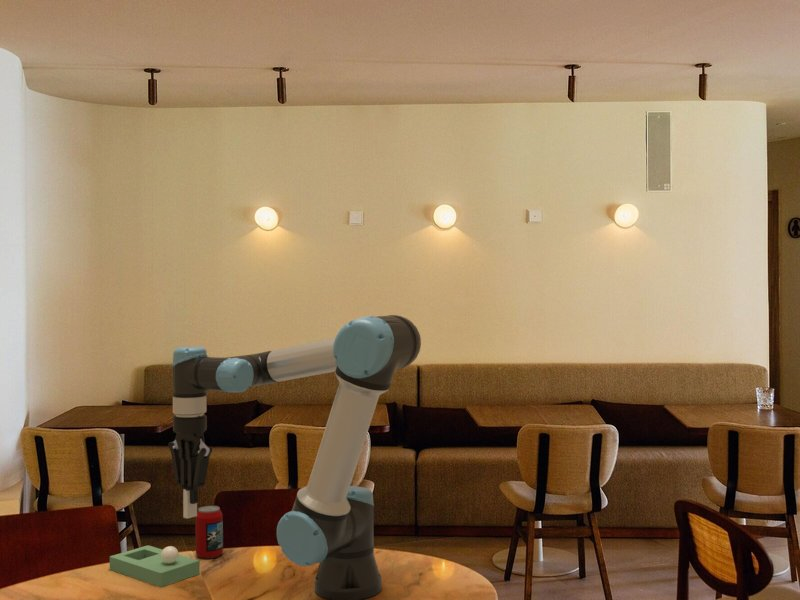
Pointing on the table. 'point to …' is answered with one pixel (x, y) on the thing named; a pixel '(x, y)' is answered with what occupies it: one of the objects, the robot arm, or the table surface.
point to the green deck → (153, 566)
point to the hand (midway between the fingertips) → (190, 516)
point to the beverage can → (209, 532)
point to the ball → (169, 555)
